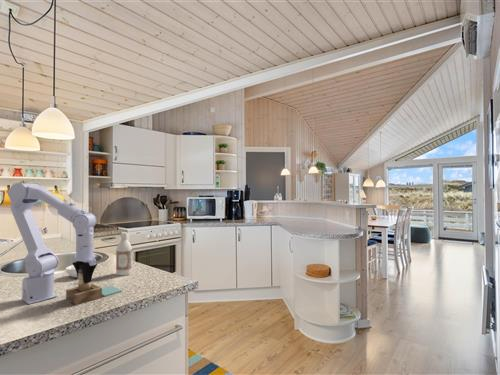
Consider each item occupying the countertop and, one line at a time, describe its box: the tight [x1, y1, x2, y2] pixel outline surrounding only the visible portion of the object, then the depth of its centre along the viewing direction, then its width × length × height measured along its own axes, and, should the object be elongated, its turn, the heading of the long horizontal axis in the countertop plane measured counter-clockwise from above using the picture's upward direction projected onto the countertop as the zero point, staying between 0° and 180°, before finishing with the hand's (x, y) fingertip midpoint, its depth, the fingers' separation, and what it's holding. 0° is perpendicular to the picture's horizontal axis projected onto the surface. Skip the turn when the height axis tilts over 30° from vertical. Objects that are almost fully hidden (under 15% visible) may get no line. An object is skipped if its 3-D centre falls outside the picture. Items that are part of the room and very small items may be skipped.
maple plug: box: [77, 269, 92, 292], centre depth 108 cm, size 4×4×9 cm
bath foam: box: [115, 231, 133, 277], centre depth 140 cm, size 7×7×20 cm
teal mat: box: [101, 285, 123, 298], centre depth 115 cm, size 7×9×1 cm
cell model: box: [65, 264, 78, 278], centre depth 135 cm, size 10×12×7 cm
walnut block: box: [65, 282, 103, 306], centre depth 108 cm, size 9×9×4 cm
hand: (84, 281), depth 108 cm, fingers closed on maple plug, 4 cm apart
